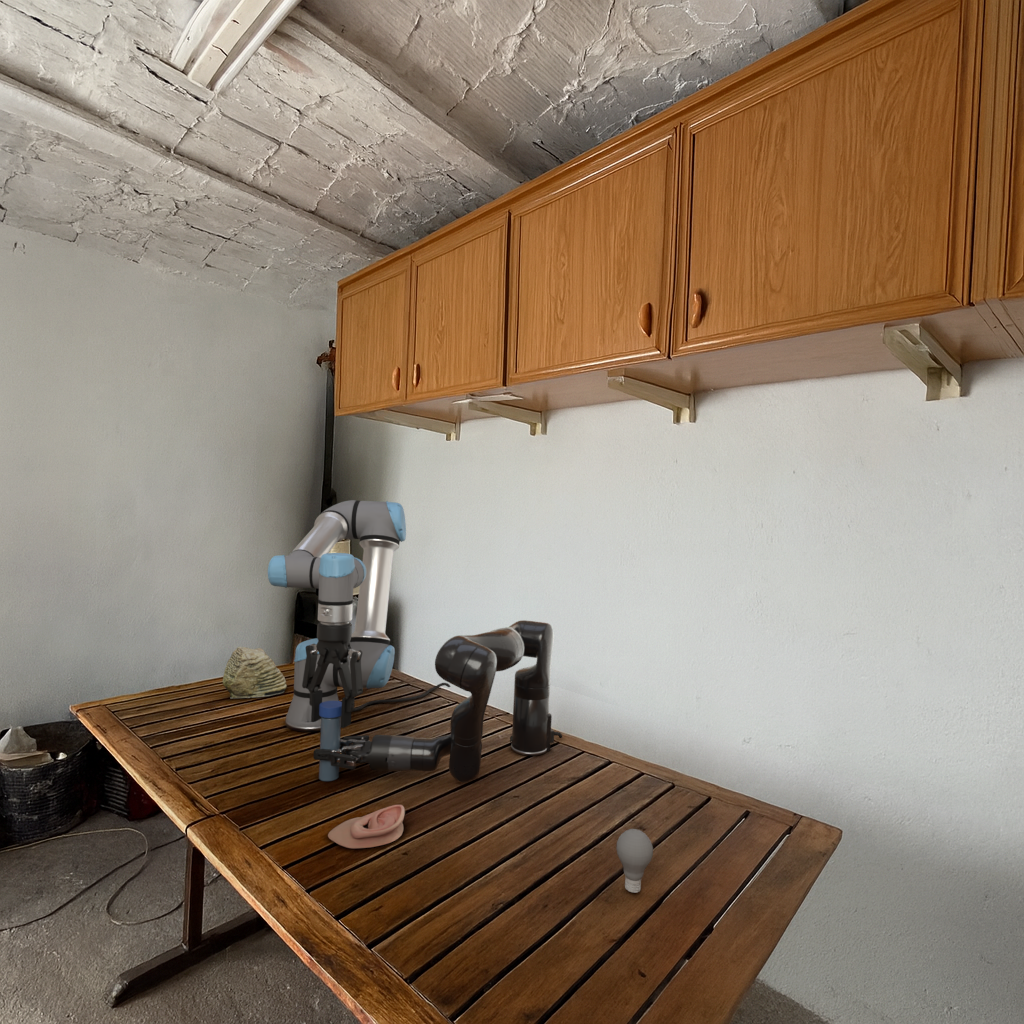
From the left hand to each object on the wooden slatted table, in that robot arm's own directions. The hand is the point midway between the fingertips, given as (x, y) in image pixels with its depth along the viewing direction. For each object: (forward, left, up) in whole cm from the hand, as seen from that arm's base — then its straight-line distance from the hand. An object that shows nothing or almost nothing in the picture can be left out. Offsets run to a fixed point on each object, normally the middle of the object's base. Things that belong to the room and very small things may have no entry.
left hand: (330, 722), depth 143 cm
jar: (0, 0, -12) cm, 12 cm away
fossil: (-18, -65, -12) cm, 68 cm away
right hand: (+2, -2, -6) cm, 7 cm away
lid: (0, 0, +4) cm, 4 cm away
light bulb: (-9, +72, -12) cm, 73 cm away
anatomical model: (+10, +26, -12) cm, 30 cm away
